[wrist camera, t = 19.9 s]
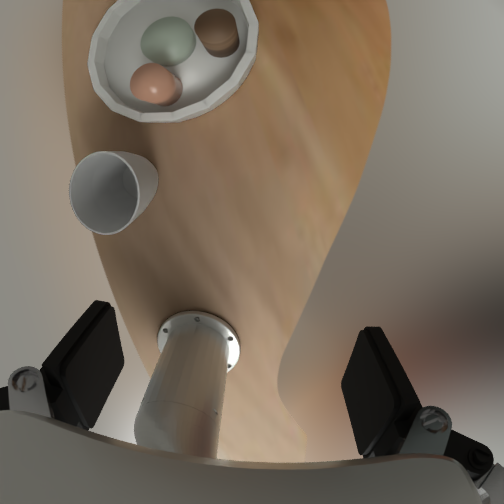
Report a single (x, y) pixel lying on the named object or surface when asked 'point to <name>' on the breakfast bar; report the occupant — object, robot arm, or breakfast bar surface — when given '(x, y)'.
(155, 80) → the pinkish-brown rounded piece
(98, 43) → the groove tray
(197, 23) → the walnut bead
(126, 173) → the cup
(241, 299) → the breakfast bar surface
